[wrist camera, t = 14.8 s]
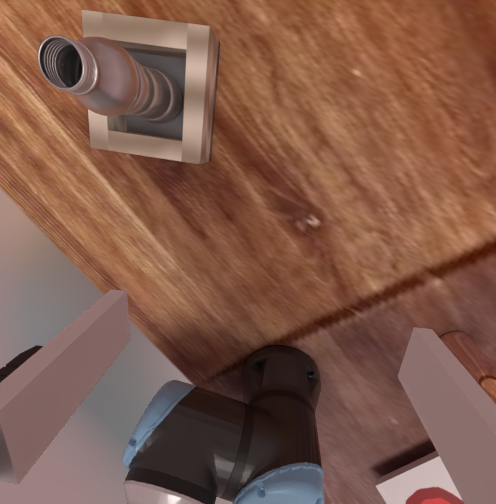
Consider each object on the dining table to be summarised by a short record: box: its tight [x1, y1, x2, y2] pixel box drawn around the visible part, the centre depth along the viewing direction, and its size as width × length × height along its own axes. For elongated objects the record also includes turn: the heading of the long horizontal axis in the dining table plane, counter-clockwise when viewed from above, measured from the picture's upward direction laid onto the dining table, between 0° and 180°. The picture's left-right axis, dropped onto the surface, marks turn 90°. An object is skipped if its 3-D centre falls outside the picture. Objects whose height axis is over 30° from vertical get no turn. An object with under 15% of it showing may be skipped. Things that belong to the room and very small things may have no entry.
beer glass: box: [440, 331, 496, 404], centre depth 43 cm, size 7×7×15 cm
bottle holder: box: [82, 10, 220, 164], centre depth 38 cm, size 15×15×6 cm
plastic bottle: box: [37, 35, 182, 124], centre depth 31 cm, size 6×7×20 cm
